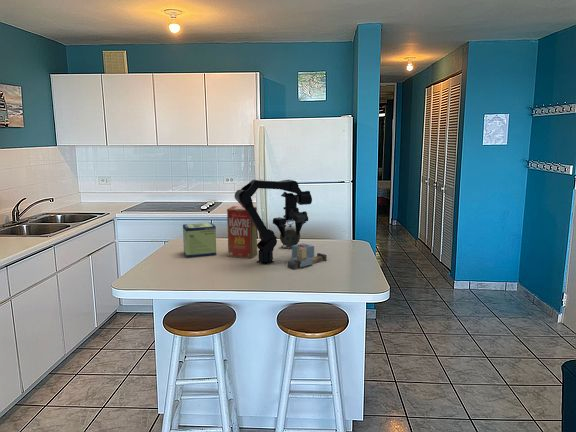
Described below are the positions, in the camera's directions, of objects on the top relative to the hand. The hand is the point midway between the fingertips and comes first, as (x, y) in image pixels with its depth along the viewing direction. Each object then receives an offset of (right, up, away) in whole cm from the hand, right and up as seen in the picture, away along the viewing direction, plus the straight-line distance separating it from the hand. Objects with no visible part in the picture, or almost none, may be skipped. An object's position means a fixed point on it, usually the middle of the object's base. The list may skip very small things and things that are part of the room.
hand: (290, 236), depth 231 cm
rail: (+8, -13, -6) cm, 16 cm away
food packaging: (-25, -10, +10) cm, 28 cm away
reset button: (+6, -10, +6) cm, 13 cm away
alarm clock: (0, -8, +24) cm, 25 cm away
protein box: (-47, -10, +12) cm, 50 cm away
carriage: (+5, -14, -9) cm, 17 cm away
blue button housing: (+6, -11, +6) cm, 14 cm away
